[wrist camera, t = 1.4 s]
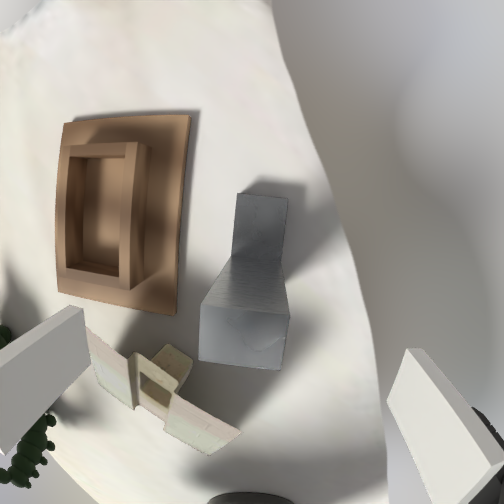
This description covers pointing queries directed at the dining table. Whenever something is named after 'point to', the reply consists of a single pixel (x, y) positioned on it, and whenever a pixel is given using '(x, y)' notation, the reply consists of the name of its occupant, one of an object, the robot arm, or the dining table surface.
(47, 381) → the robot arm
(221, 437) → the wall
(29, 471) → the toy figurine
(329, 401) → the dining table surface
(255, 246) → the bracket
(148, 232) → the brown wooden flat frame
